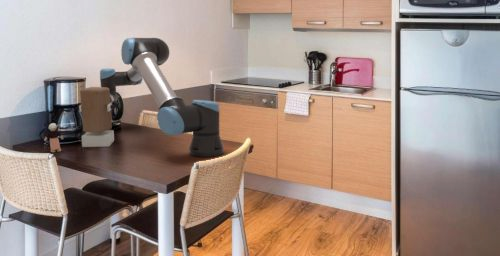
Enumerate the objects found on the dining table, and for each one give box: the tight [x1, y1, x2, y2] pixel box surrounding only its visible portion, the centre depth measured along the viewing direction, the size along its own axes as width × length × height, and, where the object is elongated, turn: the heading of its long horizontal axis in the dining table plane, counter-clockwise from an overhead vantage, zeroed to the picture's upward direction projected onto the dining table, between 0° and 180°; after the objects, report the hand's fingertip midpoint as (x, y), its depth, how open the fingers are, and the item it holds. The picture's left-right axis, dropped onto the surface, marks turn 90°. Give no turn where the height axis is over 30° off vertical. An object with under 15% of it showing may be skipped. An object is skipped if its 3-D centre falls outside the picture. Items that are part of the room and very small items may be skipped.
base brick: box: [81, 129, 115, 148], centre depth 212 cm, size 12×12×5 cm
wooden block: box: [79, 86, 113, 133], centre depth 209 cm, size 10×10×20 cm
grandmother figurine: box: [43, 122, 64, 153], centre depth 197 cm, size 8×4×13 cm, turn 135°
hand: (94, 108), depth 205 cm, fingers closed on wooden block, 12 cm apart
